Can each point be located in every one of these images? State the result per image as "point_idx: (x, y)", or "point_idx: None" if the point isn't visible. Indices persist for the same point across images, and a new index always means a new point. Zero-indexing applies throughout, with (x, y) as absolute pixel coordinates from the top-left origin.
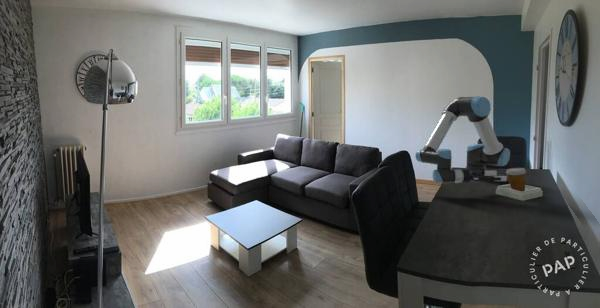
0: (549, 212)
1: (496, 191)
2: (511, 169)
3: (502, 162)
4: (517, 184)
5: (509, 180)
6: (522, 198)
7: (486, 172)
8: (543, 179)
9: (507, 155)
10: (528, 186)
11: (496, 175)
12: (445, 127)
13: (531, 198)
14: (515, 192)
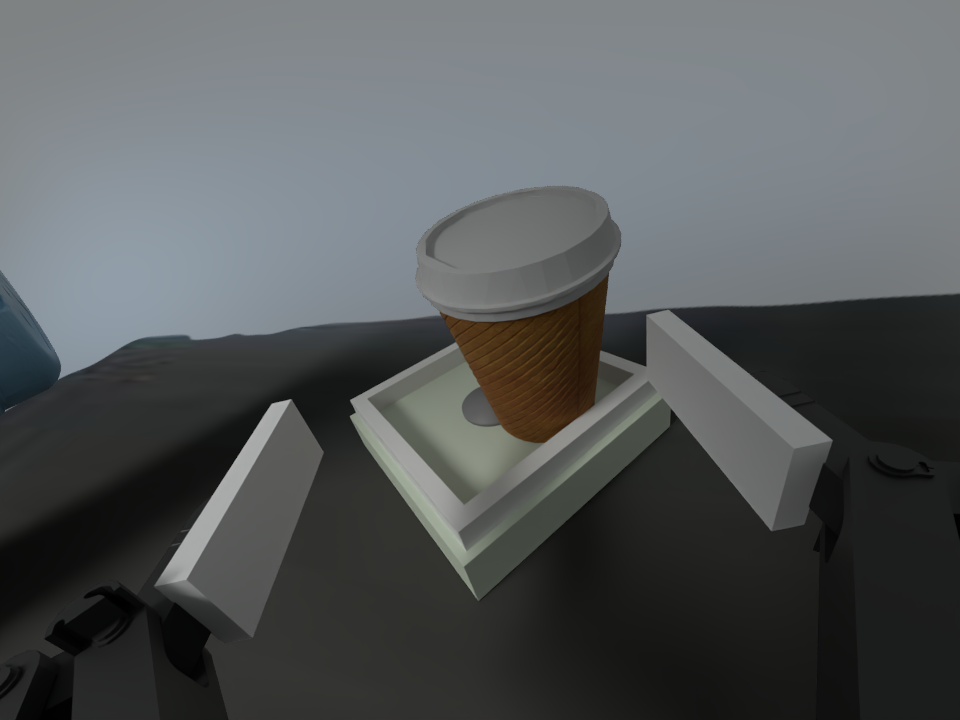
0: (914, 336)
1: (477, 579)
2: (446, 257)
3: (39, 351)
4: (599, 350)
5: (547, 369)
6: (667, 415)
7: (227, 562)
8: (233, 348)
9: (2, 281)
10: (452, 354)
11: (322, 453)
12: None
13: None
14: (616, 422)
